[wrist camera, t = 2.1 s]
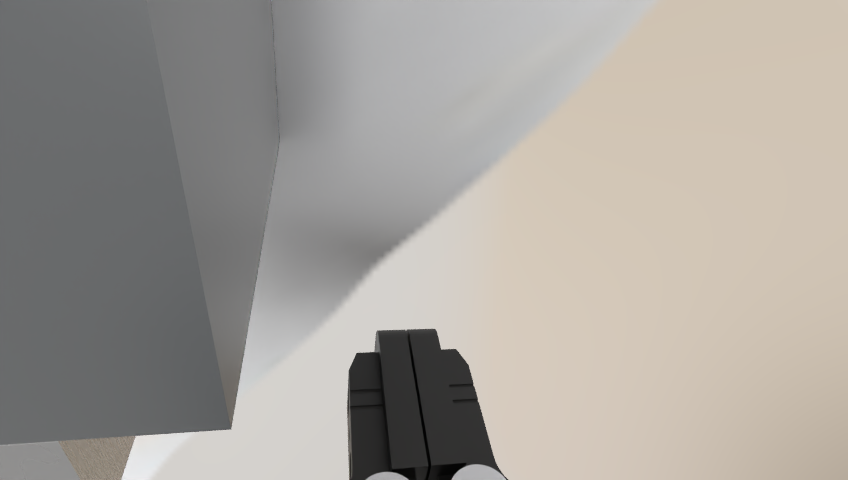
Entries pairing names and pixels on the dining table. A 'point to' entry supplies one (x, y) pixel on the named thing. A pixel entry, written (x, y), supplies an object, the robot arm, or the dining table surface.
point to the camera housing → (130, 211)
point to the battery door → (66, 459)
